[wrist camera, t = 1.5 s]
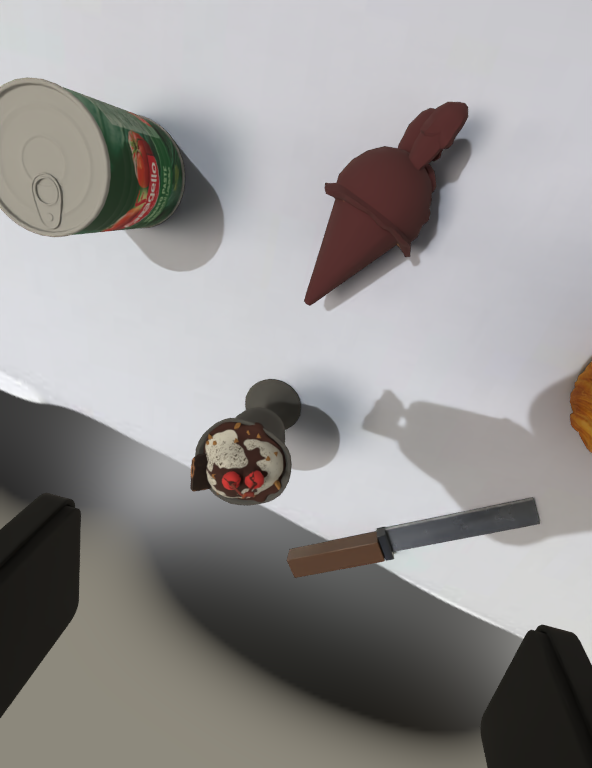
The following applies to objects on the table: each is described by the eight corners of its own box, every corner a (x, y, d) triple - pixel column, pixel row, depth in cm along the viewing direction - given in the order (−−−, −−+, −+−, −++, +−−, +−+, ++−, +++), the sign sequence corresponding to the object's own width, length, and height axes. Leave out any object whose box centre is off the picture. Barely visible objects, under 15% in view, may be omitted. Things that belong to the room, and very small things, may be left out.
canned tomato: (82, 112, 34) (-40, 73, 24) (183, 116, 33) (100, 78, 23) (93, 225, 37) (-12, 232, 27) (187, 232, 36) (114, 242, 26)
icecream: (357, 349, 31) (520, 144, 26) (265, 286, 29) (427, 50, 24) (338, 317, 37) (467, 148, 33) (261, 264, 35) (390, 73, 30)
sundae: (324, 392, 39) (296, 493, 25) (288, 451, 42) (245, 572, 28) (256, 354, 39) (190, 436, 25) (224, 416, 42) (149, 520, 28)
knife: (532, 496, 40) (538, 507, 38) (539, 522, 40) (545, 534, 39) (288, 546, 46) (285, 557, 44) (298, 568, 47) (295, 580, 45)
